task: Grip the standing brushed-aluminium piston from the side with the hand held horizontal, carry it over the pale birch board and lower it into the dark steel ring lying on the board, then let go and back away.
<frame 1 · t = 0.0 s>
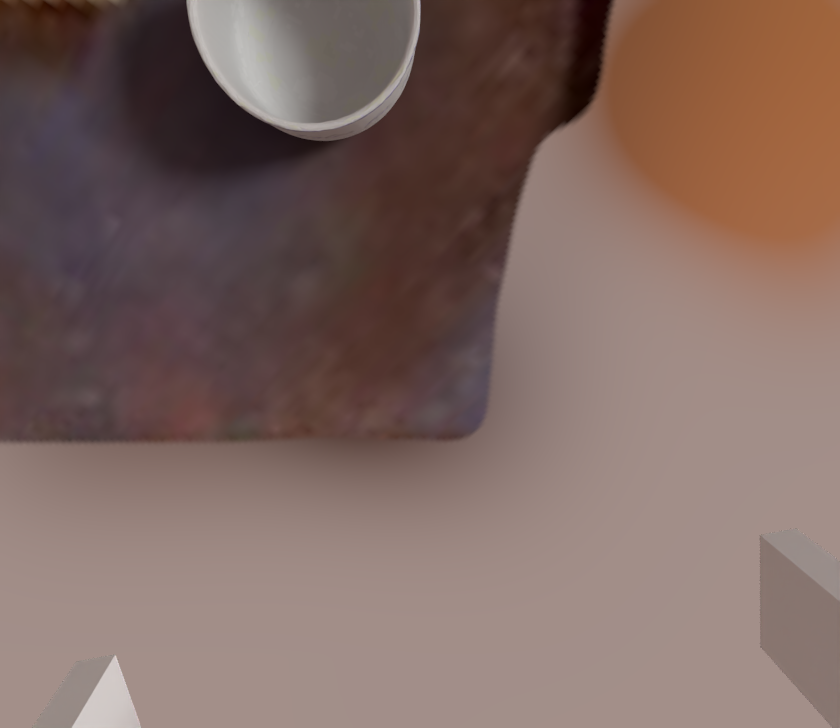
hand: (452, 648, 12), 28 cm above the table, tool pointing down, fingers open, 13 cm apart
teacup: (340, 34, 34), on the table
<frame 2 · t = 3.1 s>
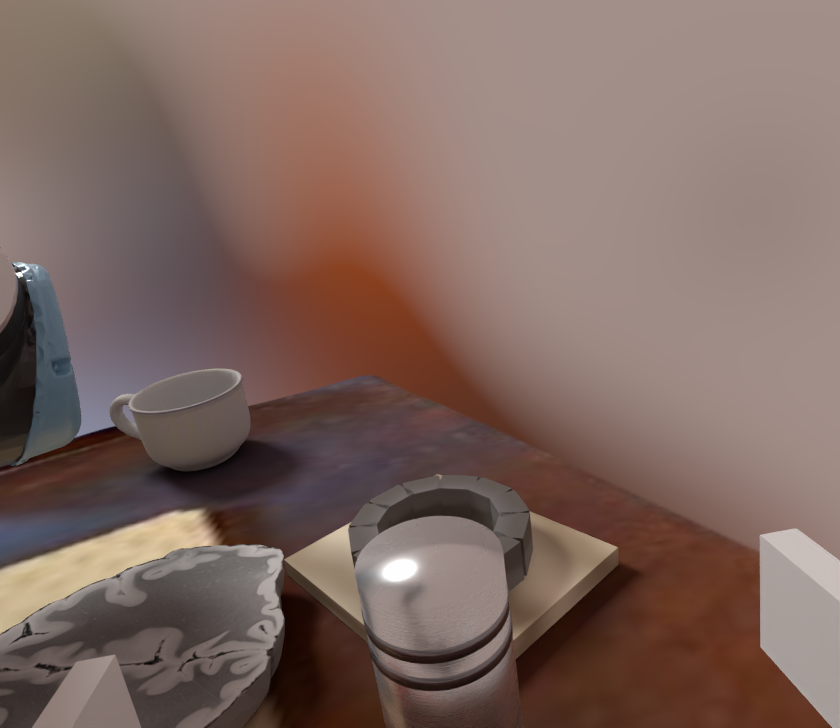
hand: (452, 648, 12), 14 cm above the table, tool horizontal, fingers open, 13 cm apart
ring board: (445, 569, 37), on the table
brain slice: (127, 712, 30), on the table
teacup: (192, 459, 60), on the table
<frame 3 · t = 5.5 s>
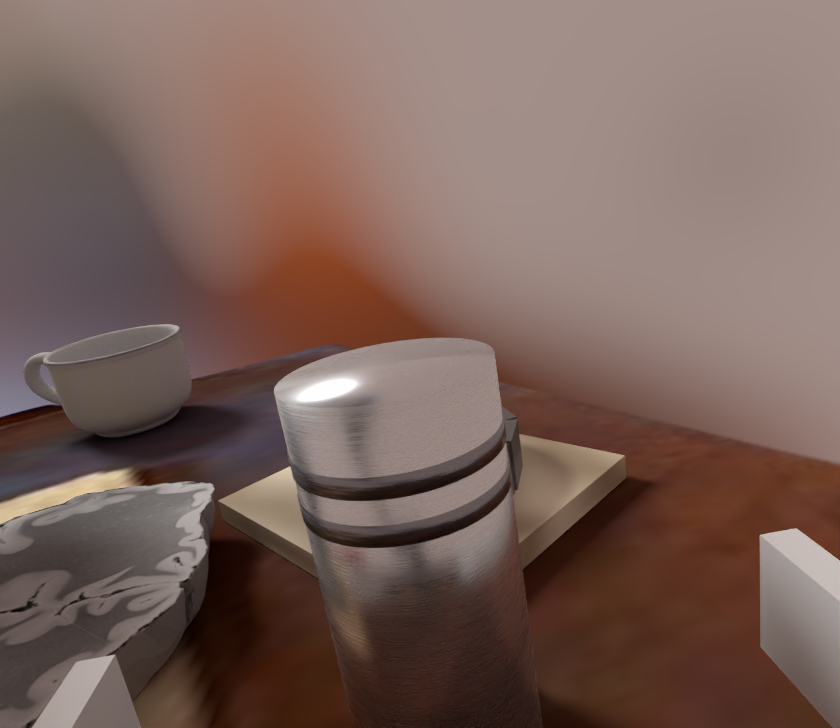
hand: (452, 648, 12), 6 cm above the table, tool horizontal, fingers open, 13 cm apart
ring board: (416, 499, 30), on the table
teacup: (124, 427, 52), on the table
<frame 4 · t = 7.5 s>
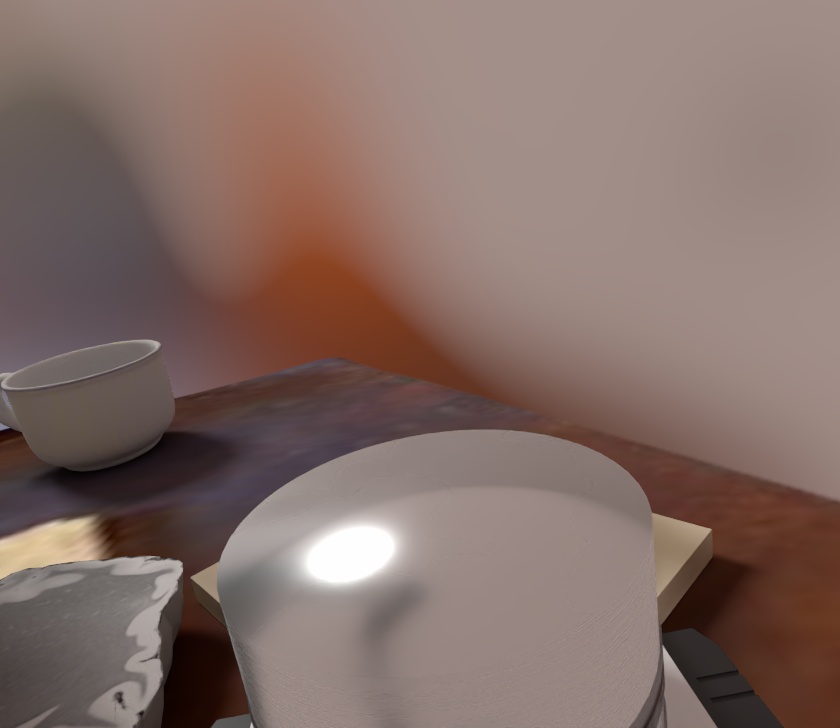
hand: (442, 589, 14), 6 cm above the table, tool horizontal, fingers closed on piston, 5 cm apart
ring board: (441, 580, 24), on the table
teacup: (98, 458, 46), on the table
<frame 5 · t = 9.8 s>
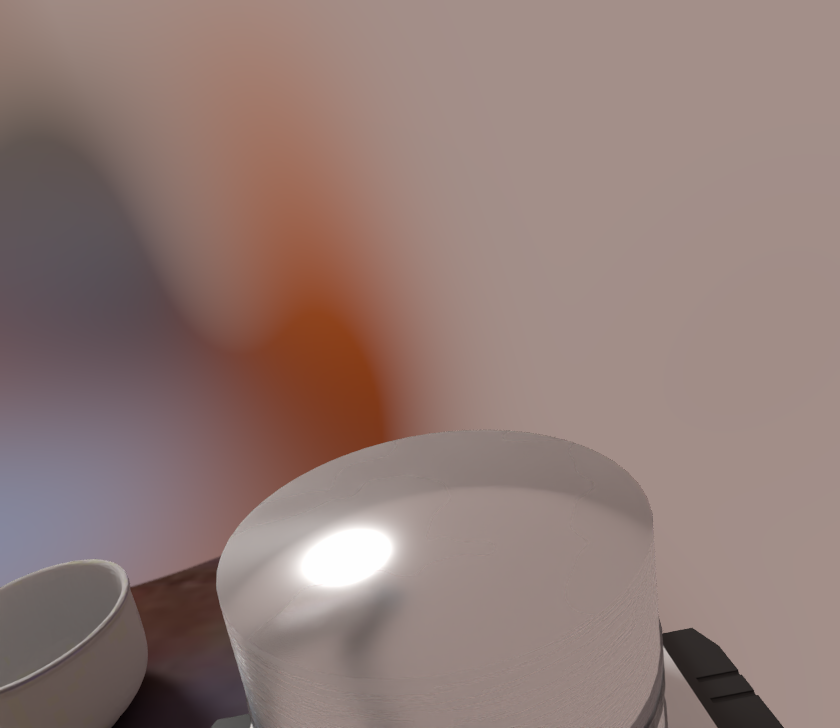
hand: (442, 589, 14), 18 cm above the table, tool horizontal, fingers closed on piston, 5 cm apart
teacup: (48, 726, 35), on the table
when the fingers open (8 cm above the table, at t = 12.3 s): piston drops 1 cm, resting on ring board.
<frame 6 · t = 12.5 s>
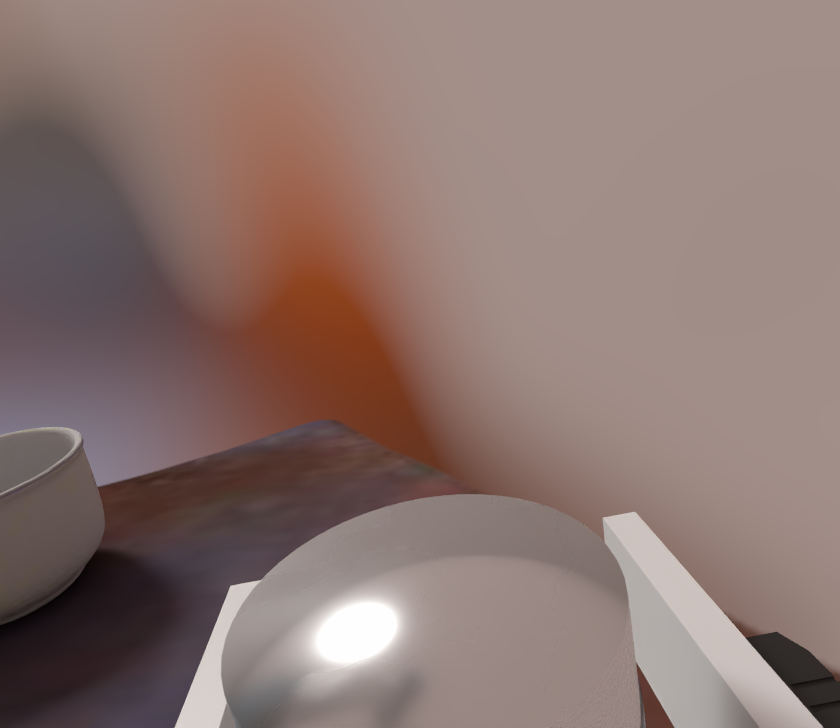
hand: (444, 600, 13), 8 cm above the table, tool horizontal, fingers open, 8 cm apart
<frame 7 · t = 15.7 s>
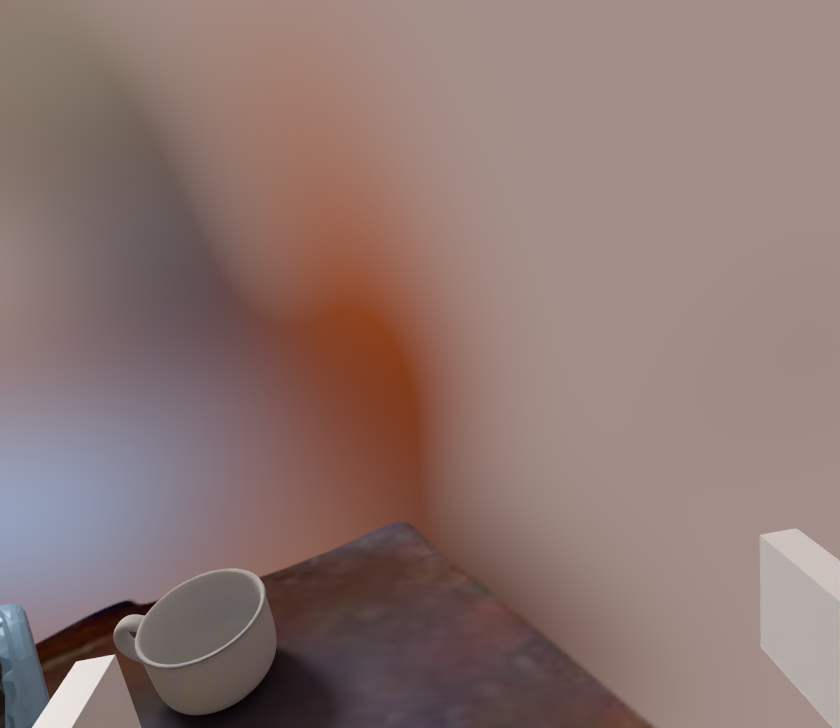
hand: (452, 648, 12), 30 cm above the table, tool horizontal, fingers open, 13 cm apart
teacup: (211, 682, 52), on the table
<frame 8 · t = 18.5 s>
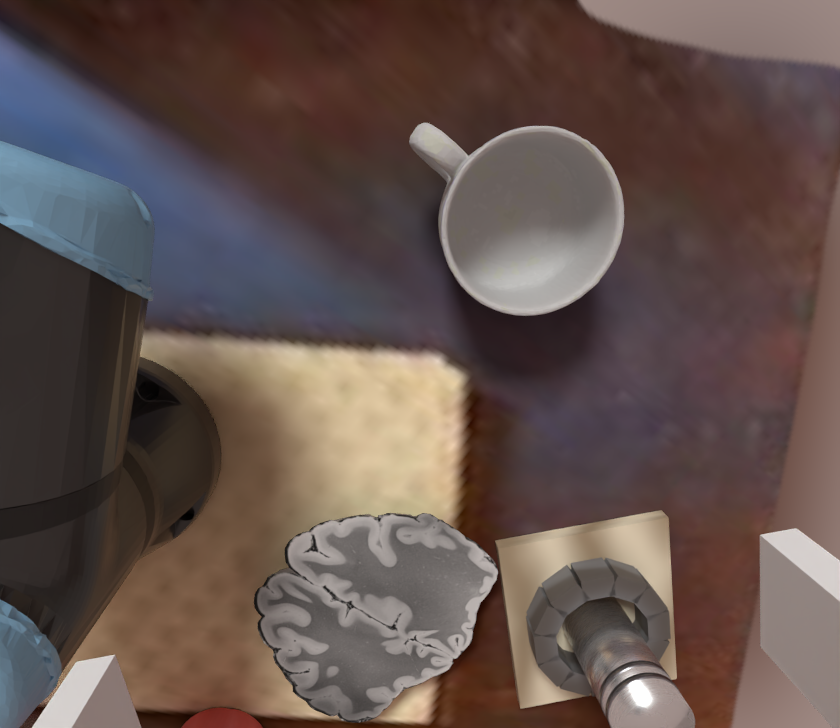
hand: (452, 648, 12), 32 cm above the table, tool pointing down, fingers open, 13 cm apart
piston: (591, 618, 48), point 1 cm above the table, touching ring board
ring board: (586, 607, 49), on the table
brain slice: (368, 589, 48), on the table
teacup: (490, 205, 41), on the table
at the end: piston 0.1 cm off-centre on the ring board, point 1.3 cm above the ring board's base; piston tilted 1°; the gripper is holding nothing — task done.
